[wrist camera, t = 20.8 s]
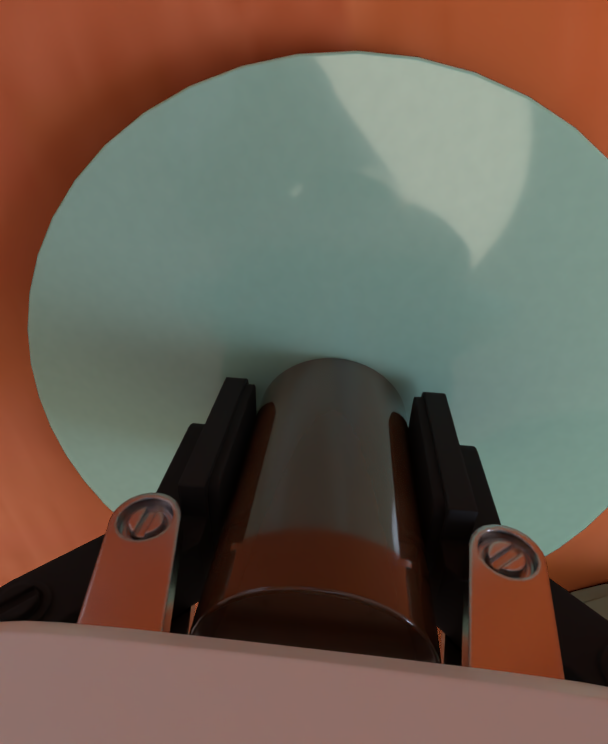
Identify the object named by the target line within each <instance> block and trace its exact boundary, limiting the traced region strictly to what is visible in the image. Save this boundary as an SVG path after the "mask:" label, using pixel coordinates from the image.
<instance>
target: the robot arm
mask: <svg viewBox="0 0 608 744" xmlns="http://www.w3.org/2000/svg"><path fill="white" fill-rule="evenodd" d="M256 415H257V413H256V387H255V385H254V384H249V382H248V379H247V378H233V377H226V379H225V381H224V383H223V385H222V387H221V389H220V392H219V394H218V396H217V398H216V400H215V403H214V405H213V407H212V409H211V412H210V414H209V416H208V418H207V420H206V423H205V424H199V423H192V424H190V426H189V427H188V429H187V431H186V433H185V435H184V437H183V439H182V441H181V443H180V445H179V447H178V449H177V451H176V453H175V455H174V457H173V459H172V461H171V463H170V465H169V467H168V469H167V471H166V473H165V475H164V477H163V479H162V481H161V483H160V485H159V487H158V489H157V491H156V493H152V492H151V493H145V494H140V495H137V496H135V497H132V498H130V499H128V500H127V501H125V502H124V503H122V504H121V505H120V506H119V507H118V508H117V509H116V510H115V511H114V512H113V514H112V516H111V518H110V520H109V523H108V527H107V530H106V533H105V534H104V535H102V536H100V537H98V538H96V539H94V540H92V541H90V542H88V543H86V544H84V545H82V546H80V547H78V548H76V549H74V550H72V551H70V552H68V553H66V554H64V555H62V556H60V557H58V558H56V559H54V560H52V561H50V562H48V563H46V564H44V565H42V566H40V567H38V568H36V569H34V570H32V571H30V572H28V573H26V574H24V575H22V576H20V577H18V578H16V579H14V580H12V581H10V582H9V583H7V584H5V585H4V586H2V587H0V744H608V620H607V619H605V618H604V617H602V616H601V615H600V614H598V613H597V612H596V611H594V610H593V609H591V608H590V607H589V606H587V605H586V604H584V603H583V602H582V601H580V600H579V599H578V598H576V597H575V596H573V595H572V594H571V593H569V592H568V591H566V590H565V589H564V588H562V587H561V586H559V585H558V584H557V583H555V582H554V581H553V580H551V579H550V578H549V575H548V569H547V562H546V560H545V557H544V554H543V552H542V551H541V549H540V548H539V546H538V545H537V544H536V543H535V542H534V541H533V540H532V539H531V538H530V537H528V536H527V535H525V534H524V533H522V532H520V531H519V530H517V529H514V528H511V527H508V526H505V525H501V522H500V519H499V516H498V513H497V510H496V507H495V504H494V501H493V497H492V494H491V491H490V488H489V485H488V482H487V479H486V476H485V472H484V469H483V466H482V463H481V460H480V457H479V454H478V451H477V449H476V447H474V446H467V445H460V444H459V440H458V437H457V433H456V430H455V426H454V422H453V419H452V415H451V411H450V408H449V404H448V401H447V397H446V394H445V393H434V392H423V393H422V395H421V397H414V399H413V403H412V409H411V415H410V420H409V426H408V430H409V437H410V444H411V451H412V458H413V465H414V472H415V479H416V486H417V493H418V500H419V507H420V514H421V521H422V528H423V535H424V542H425V549H426V556H427V563H428V570H429V577H430V584H431V591H432V598H433V605H434V612H435V619H436V626H437V627H438V628H439V629H440V630H441V631H442V634H441V649H440V655H441V664H438V663H430V662H421V661H413V660H405V659H396V658H388V657H379V656H371V655H362V654H353V653H345V652H336V651H327V650H319V649H310V648H301V647H292V646H284V645H275V644H266V643H257V642H248V641H240V640H230V639H221V638H212V637H203V636H194V635H189V633H190V629H191V626H192V623H193V619H194V613H195V603H197V602H199V600H200V597H201V594H202V590H203V587H204V584H205V581H206V577H207V574H208V571H209V568H210V564H211V561H212V558H213V555H214V551H215V548H216V545H217V542H218V539H219V535H220V532H221V529H222V526H223V522H224V519H225V516H226V513H227V509H228V506H229V503H230V500H231V496H232V493H233V490H234V487H235V483H236V480H237V477H238V474H239V470H240V467H241V464H242V461H243V458H244V454H245V451H246V448H247V445H248V441H249V438H250V435H251V432H252V428H253V425H254V422H255V419H256Z"/></svg>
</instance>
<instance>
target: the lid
mask: <svg viewBox="0 0 608 744" xmlns="http://www.w3.org/2000/svg"><path fill="white" fill-rule="evenodd" d="M28 339H29V350H30V360H31V366H32V371H33V375H34V379H35V383H36V387H37V391H38V395H39V398H40V401H41V403H42V406H43V409H44V411H45V414H46V416H47V419H48V421H49V424H50V426H51V429H52V430H53V432H54V434H55V436H56V438H57V440H58V441H59V443H60V445H61V447H62V449H63V451H64V452H65V454H66V456H67V457H68V459H69V460H70V462H71V463H72V464H73V466H74V467H75V469H76V470H77V472H78V473H79V474H80V476H81V477H82V479H83V480H84V481H85V483H86V484H87V485H88V486H89V487H90V488H91V489H92V490H93V492H94V493H95V494H96V495H97V496H98V497H99V498H100V500H101V501H102V502H103V503H104V504H105V505H106V506H107V507H108V508H109V509H110V510H111V511H112V512H114V511H115V510H116V509H117V508H118V507H119V506H120V505H121V504H122V503H124V502H125V501H127V500H128V499H130V498H132V497H135V496H137V495H140V494H145V493H151V492H152V493H156V491H157V489H158V487H159V485H160V483H161V481H162V479H163V477H164V475H165V473H166V471H167V469H168V467H169V465H170V463H171V461H172V459H173V457H174V455H175V453H176V451H177V449H178V447H179V445H180V443H181V441H182V439H183V437H184V435H185V433H186V431H187V429H188V427H189V426H190V424H192V423H199V424H205V423H206V420H207V418H208V416H209V414H210V412H211V409H212V407H213V405H214V403H215V400H216V398H217V396H218V394H219V392H220V389H221V387H222V385H223V383H224V381H225V379H226V377H233V378H247V379H248V382H249V384H254V385H255V387H256V413H257V415H256V419H255V422H254V425H253V428H252V432H251V435H250V438H249V441H248V445H247V448H246V451H245V454H244V458H243V461H242V464H241V467H240V470H239V474H238V477H237V480H236V483H235V487H234V490H233V493H232V496H231V500H230V503H229V506H228V509H227V513H226V516H225V519H224V522H223V526H222V529H221V532H220V535H219V539H218V542H217V545H216V548H215V551H214V555H213V558H212V561H211V564H210V568H209V571H208V574H207V577H206V581H205V584H204V587H203V590H202V594H201V597H200V600H199V603H198V607H197V610H196V613H195V616H194V619H193V623H192V626H191V629H190V633H189V635H194V636H203V637H212V638H221V639H230V640H240V641H248V642H257V643H266V644H275V645H284V646H292V647H301V648H310V649H319V650H327V651H336V652H345V653H353V654H362V655H371V656H379V657H388V658H396V659H405V660H413V661H421V662H430V663H438V664H441V655H440V648H439V641H438V634H437V627H436V619H435V612H434V605H433V598H432V591H431V584H430V577H429V570H428V563H427V556H426V549H425V542H424V535H423V528H422V521H421V514H420V507H419V500H418V493H417V486H416V479H415V472H414V465H413V458H412V451H411V444H410V437H409V430H408V426H409V420H410V415H411V409H412V403H413V399H414V397H421V395H422V393H423V392H434V393H445V394H446V397H447V401H448V404H449V408H450V411H451V415H452V419H453V422H454V426H455V430H456V433H457V437H458V440H459V444H460V445H467V446H474V447H476V449H477V451H478V454H479V457H480V460H481V463H482V466H483V469H484V472H485V476H486V479H487V482H488V485H489V488H490V491H491V494H492V497H493V501H494V504H495V507H496V510H497V513H498V516H499V519H500V522H501V525H505V526H508V527H511V528H514V529H517V530H519V531H520V532H522V533H524V534H525V535H527V536H528V537H530V538H531V539H532V540H533V541H534V542H535V543H536V544H537V545H538V546H539V548H540V549H541V551H542V552H543V554H544V557H545V556H547V555H549V554H550V553H552V552H554V551H555V550H557V549H559V548H560V547H561V546H563V545H564V544H565V543H567V542H568V541H569V540H571V539H572V538H573V537H575V536H576V535H577V534H579V533H580V532H581V531H583V530H584V529H585V528H586V527H588V526H589V525H590V524H591V523H592V522H593V521H594V520H595V519H596V518H597V517H598V516H599V515H600V514H601V513H602V512H603V511H604V510H605V509H606V508H607V507H608V158H607V157H606V156H605V155H604V154H603V153H602V152H600V151H599V150H598V149H597V148H596V147H595V146H594V145H593V144H592V143H591V142H590V141H589V140H588V139H587V138H586V137H585V136H584V135H583V134H582V133H581V132H580V131H579V130H577V129H576V128H575V127H574V126H572V125H571V124H569V123H568V122H566V121H565V120H563V119H562V118H560V117H559V116H557V115H556V114H554V113H553V112H551V111H550V110H549V109H547V108H546V107H544V106H543V105H541V104H540V103H538V102H537V101H535V100H534V99H532V98H531V97H529V96H527V95H525V94H523V93H520V92H518V91H516V90H514V89H512V88H509V87H507V86H505V85H503V84H501V83H498V82H496V81H494V80H492V79H490V78H487V77H485V76H483V75H481V74H478V73H476V72H473V71H469V70H466V69H462V68H458V67H454V66H451V65H447V64H443V63H440V62H436V61H432V60H428V59H425V58H421V57H417V56H407V55H398V54H388V53H378V52H369V51H359V50H354V51H335V52H317V53H298V54H293V55H288V56H284V57H279V58H274V59H270V60H265V61H260V62H256V63H251V64H246V65H242V66H239V67H236V68H234V69H231V70H228V71H226V72H223V73H221V74H218V75H216V76H213V77H210V78H208V79H205V80H203V81H200V82H197V83H195V84H192V85H190V86H188V87H186V88H184V89H183V90H181V91H179V92H178V93H176V94H174V95H172V96H171V97H169V98H167V99H166V100H164V101H162V102H160V103H159V104H157V105H155V106H154V107H152V108H150V109H149V110H147V111H145V112H143V113H142V114H141V115H140V116H139V117H137V118H136V119H135V120H134V121H133V122H131V123H130V124H129V125H128V126H127V127H125V128H124V129H123V130H122V131H121V132H119V133H118V134H117V135H116V136H115V137H113V138H112V139H111V140H110V141H109V142H107V143H106V144H105V145H104V146H103V148H102V149H101V150H100V151H99V152H98V153H97V155H96V156H95V157H94V158H93V159H92V160H91V162H90V163H89V164H88V165H87V166H86V167H85V169H84V170H83V171H82V172H81V173H80V174H79V175H78V177H77V178H76V179H75V181H74V182H73V184H72V186H71V187H70V189H69V190H68V192H67V194H66V195H65V197H64V199H63V200H62V202H61V204H60V205H59V207H58V209H57V210H56V212H55V214H54V215H53V217H52V220H51V222H50V225H49V227H48V230H47V233H46V235H45V238H44V240H43V243H42V245H41V248H40V250H39V253H38V256H37V260H36V265H35V270H34V274H33V279H32V283H31V288H30V293H29V311H28Z"/></svg>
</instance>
